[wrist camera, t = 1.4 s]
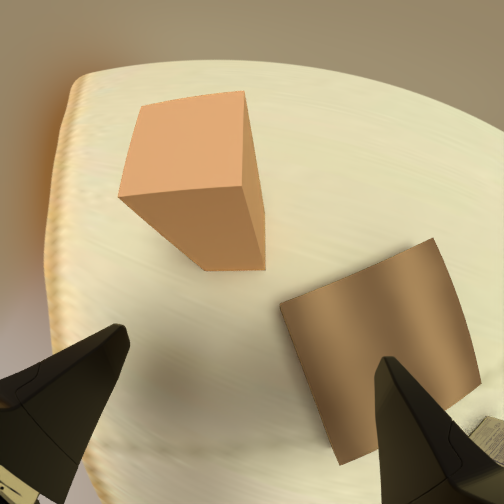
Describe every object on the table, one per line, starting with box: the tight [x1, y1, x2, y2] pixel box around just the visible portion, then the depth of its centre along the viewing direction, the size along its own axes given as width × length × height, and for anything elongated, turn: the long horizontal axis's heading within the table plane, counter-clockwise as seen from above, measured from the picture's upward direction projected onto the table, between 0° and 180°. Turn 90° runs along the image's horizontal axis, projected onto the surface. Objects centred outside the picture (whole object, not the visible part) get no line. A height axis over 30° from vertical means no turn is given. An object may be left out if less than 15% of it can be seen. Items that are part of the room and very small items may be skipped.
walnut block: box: [280, 238, 481, 465], centre depth 19 cm, size 13×13×4 cm
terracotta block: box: [118, 91, 265, 271], centre depth 17 cm, size 5×5×14 cm
